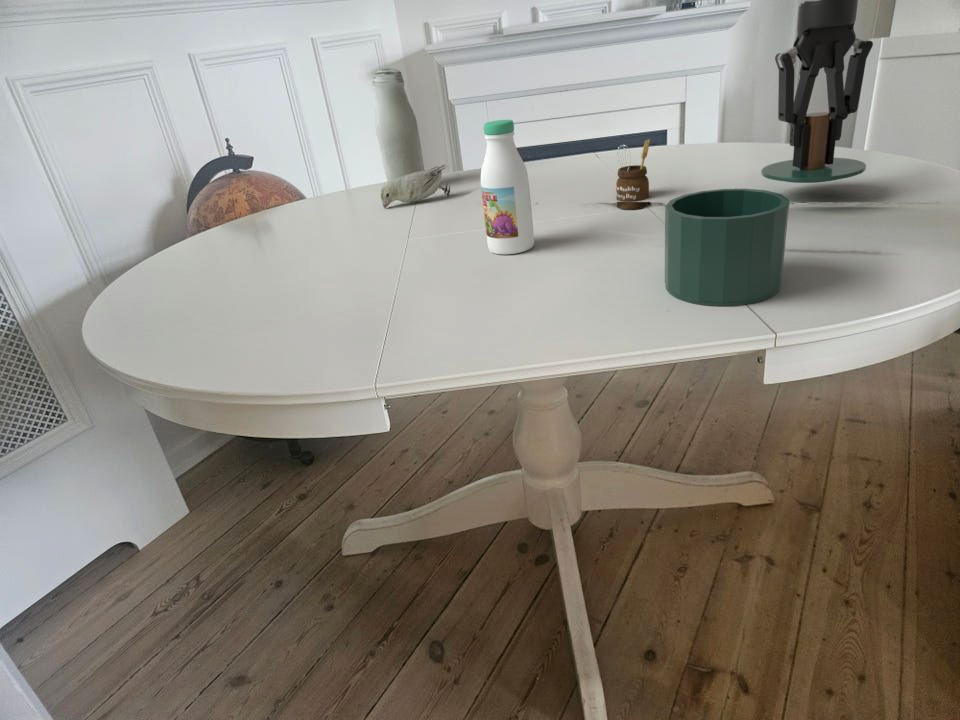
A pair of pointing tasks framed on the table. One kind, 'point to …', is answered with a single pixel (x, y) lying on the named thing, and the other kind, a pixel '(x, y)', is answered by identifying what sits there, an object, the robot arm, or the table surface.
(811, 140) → the lid
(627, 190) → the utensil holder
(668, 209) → the canister
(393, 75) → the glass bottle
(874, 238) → the table surface
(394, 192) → the decorative bird
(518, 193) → the milk bottle
